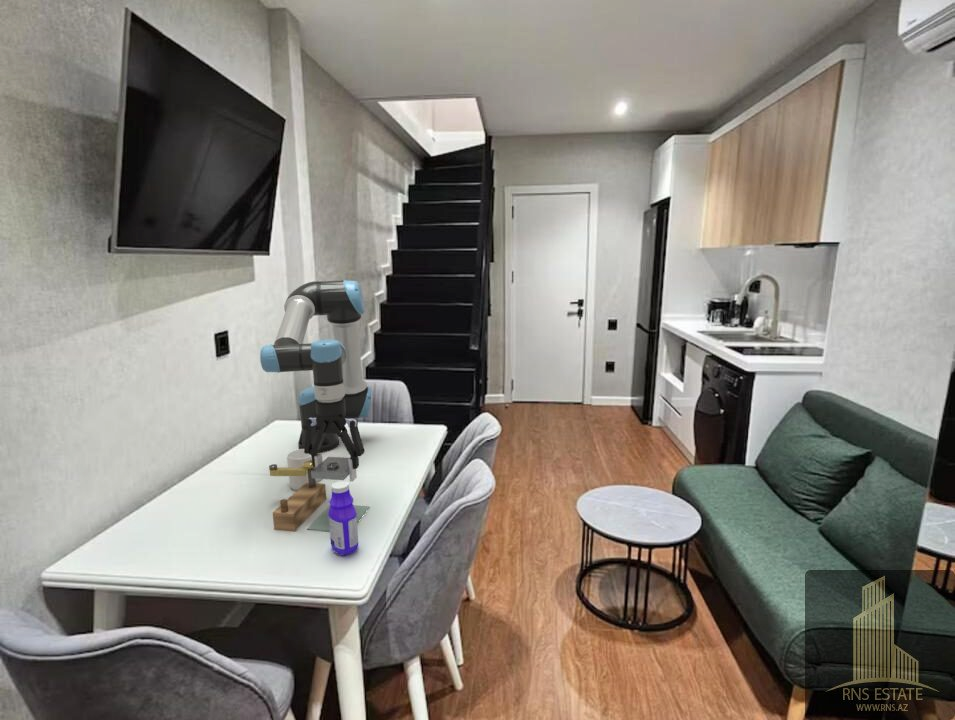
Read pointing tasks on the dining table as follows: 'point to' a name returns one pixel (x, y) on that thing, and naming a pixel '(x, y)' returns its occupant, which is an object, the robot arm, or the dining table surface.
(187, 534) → the dining table surface
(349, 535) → the bottle
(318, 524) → the mat
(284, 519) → the plane body
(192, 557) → the dining table surface
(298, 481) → the mug
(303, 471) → the lever
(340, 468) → the grey knob plate
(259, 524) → the dining table surface
